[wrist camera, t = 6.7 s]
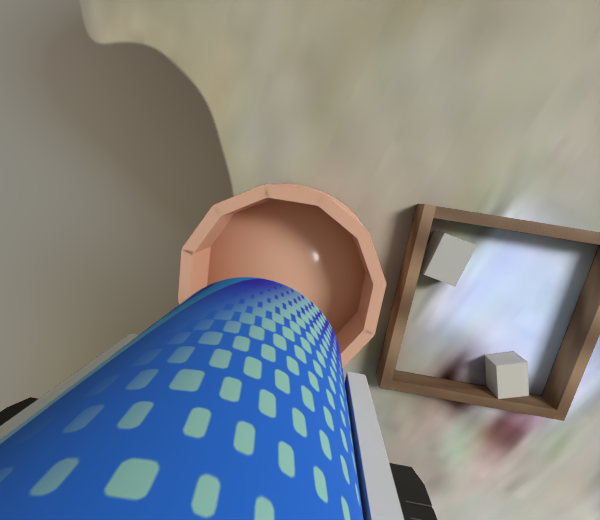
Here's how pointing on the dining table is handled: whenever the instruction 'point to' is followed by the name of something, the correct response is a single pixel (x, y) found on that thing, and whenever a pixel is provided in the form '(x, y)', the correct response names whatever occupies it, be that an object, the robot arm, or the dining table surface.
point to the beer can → (197, 421)
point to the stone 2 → (506, 375)
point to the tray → (552, 404)
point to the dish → (292, 255)
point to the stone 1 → (446, 257)
